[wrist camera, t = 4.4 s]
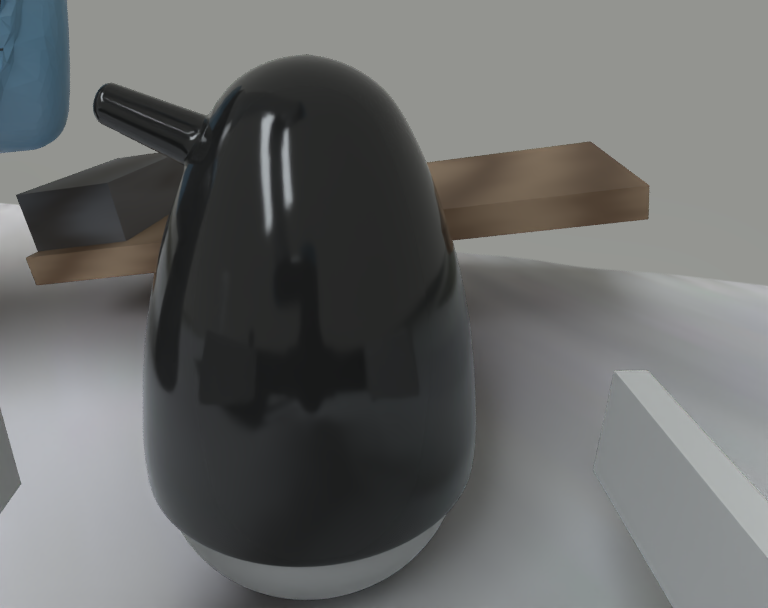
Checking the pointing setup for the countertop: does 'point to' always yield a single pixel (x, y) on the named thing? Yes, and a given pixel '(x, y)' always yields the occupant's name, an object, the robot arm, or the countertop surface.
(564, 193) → the balance beam
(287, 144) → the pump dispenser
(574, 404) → the countertop surface
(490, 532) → the countertop surface
